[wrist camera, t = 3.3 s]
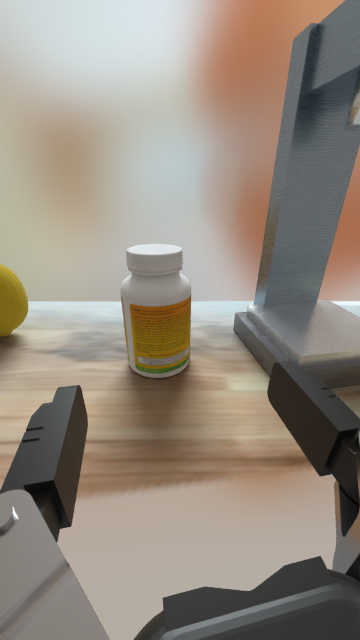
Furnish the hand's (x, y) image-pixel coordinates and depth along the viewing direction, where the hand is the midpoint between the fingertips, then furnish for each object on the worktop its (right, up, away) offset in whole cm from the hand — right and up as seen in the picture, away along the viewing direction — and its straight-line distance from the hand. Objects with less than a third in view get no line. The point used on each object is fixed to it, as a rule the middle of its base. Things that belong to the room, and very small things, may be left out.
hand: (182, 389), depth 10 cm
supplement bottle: (-2, -1, +12) cm, 12 cm away
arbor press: (+14, 0, +14) cm, 20 cm away
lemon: (-18, +1, +16) cm, 24 cm away
